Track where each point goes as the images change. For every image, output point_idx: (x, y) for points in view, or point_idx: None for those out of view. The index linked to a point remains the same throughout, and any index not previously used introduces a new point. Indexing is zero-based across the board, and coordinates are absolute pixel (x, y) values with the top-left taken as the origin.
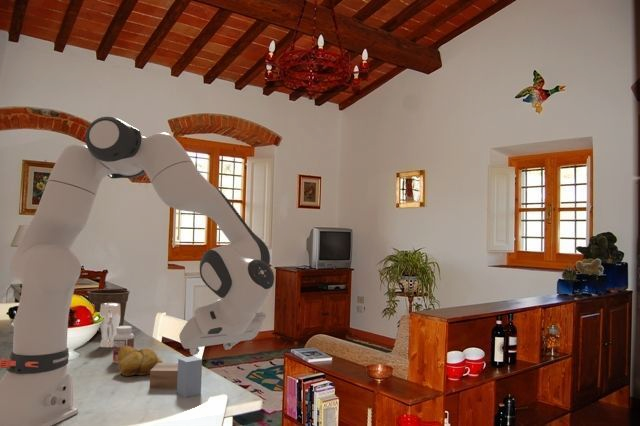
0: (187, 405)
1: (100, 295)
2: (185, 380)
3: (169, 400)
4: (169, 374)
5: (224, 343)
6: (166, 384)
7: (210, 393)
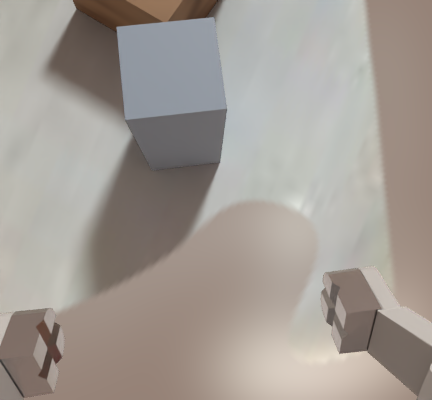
0: (122, 263)
1: None
2: (141, 149)
3: (87, 174)
4: (127, 9)
5: (334, 288)
6: None
7: (255, 173)
